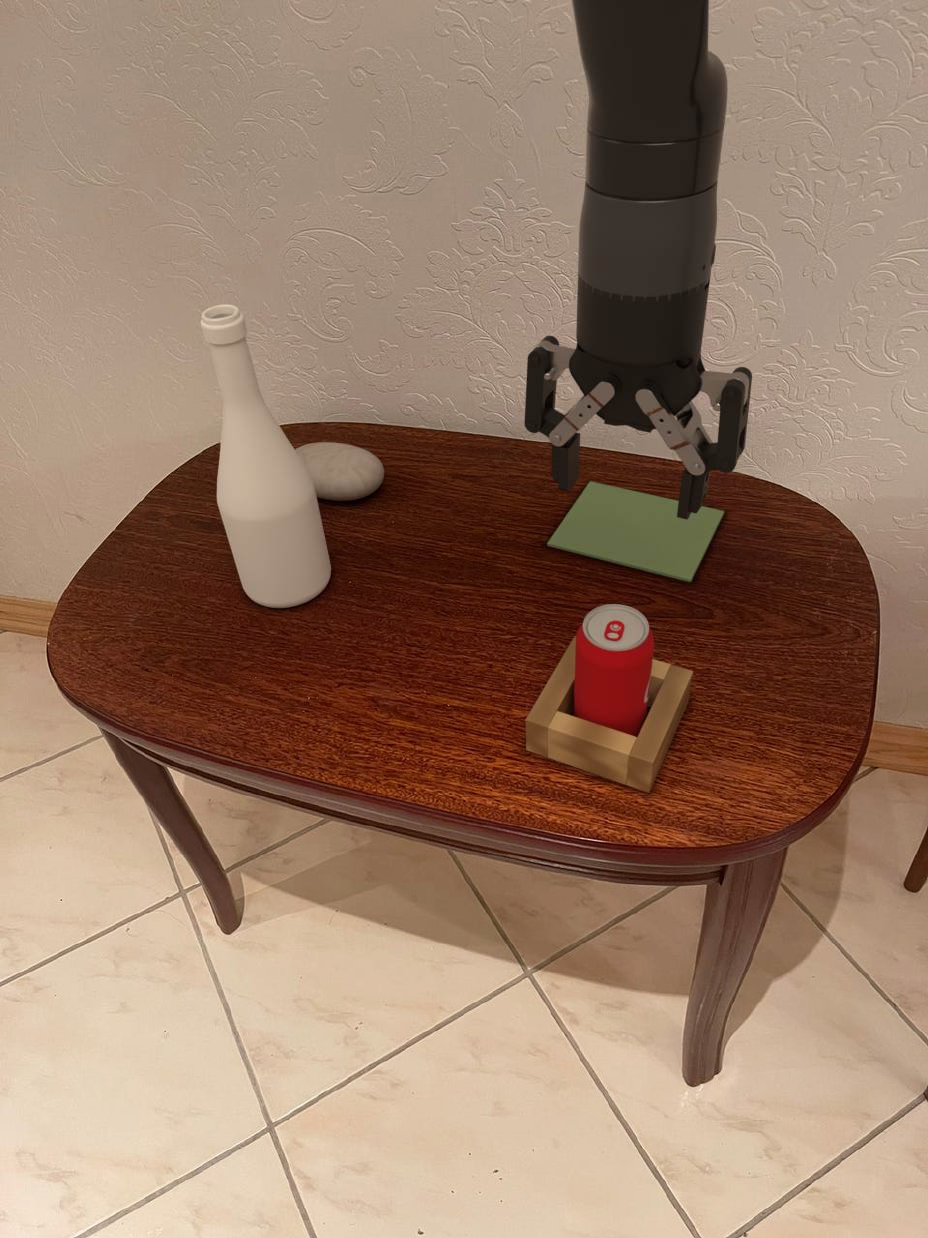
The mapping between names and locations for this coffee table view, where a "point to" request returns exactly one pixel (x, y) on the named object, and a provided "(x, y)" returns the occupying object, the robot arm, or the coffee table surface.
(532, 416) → the robot arm
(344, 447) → the decorative stone
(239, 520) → the wine bottle
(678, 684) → the stand
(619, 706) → the beverage can
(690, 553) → the pad
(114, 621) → the coffee table surface
